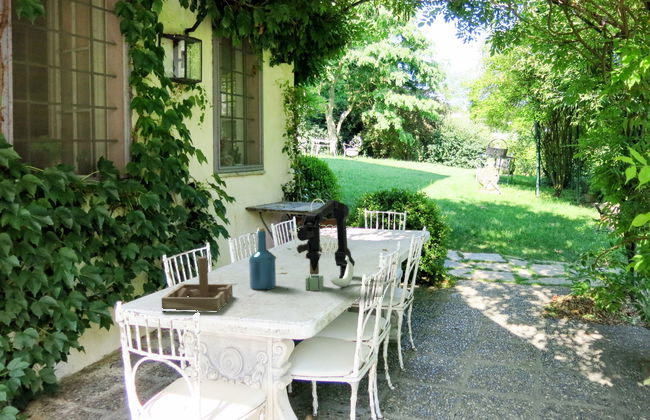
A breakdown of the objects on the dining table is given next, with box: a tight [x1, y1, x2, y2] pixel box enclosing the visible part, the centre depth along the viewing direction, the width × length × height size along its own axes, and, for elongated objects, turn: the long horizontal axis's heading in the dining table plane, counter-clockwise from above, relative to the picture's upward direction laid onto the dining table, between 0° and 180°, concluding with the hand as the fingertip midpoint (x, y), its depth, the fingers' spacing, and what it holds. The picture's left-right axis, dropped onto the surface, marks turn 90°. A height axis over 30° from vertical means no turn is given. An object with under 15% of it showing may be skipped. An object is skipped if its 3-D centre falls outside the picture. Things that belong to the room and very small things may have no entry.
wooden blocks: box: [176, 256, 229, 304], centre depth 257 cm, size 17×20×20 cm
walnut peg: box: [309, 260, 320, 275], centre depth 284 cm, size 4×4×9 cm
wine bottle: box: [248, 227, 277, 291], centre depth 288 cm, size 14×13×30 cm
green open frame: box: [305, 274, 324, 292], centre depth 285 cm, size 8×8×6 cm
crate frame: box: [161, 283, 234, 312], centre depth 258 cm, size 27×24×6 cm
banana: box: [330, 255, 354, 288], centre depth 288 cm, size 5×19×15 cm, turn 153°
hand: (314, 269), depth 284 cm, fingers closed on walnut peg, 4 cm apart
